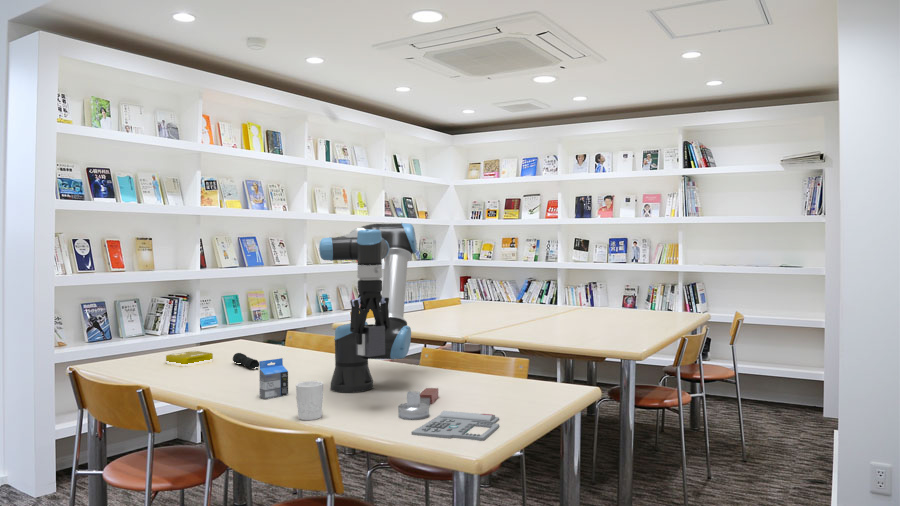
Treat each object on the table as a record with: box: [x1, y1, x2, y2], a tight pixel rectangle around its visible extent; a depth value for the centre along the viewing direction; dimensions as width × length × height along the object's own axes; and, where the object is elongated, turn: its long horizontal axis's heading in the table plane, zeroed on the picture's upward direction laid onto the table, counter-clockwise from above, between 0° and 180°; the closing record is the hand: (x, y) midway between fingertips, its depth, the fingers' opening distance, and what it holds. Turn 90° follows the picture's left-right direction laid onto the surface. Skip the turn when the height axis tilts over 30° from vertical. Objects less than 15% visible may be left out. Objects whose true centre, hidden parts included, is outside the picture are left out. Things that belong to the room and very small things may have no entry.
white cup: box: [295, 380, 324, 421], centre depth 189 cm, size 8×8×10 cm
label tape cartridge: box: [258, 357, 289, 400], centre depth 217 cm, size 9×4×12 cm, turn 134°
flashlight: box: [232, 352, 260, 369], centre depth 273 cm, size 5×21×5 cm, turn 37°
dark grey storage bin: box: [356, 323, 385, 357], centre depth 198 cm, size 6×6×9 cm
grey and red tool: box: [397, 387, 439, 421], centre depth 199 cm, size 29×9×7 cm, turn 169°
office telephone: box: [410, 410, 500, 442], centre depth 177 cm, size 23×3×20 cm
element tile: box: [165, 350, 214, 364], centre depth 284 cm, size 15×15×5 cm
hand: (370, 353), depth 198 cm, fingers closed on dark grey storage bin, 6 cm apart
